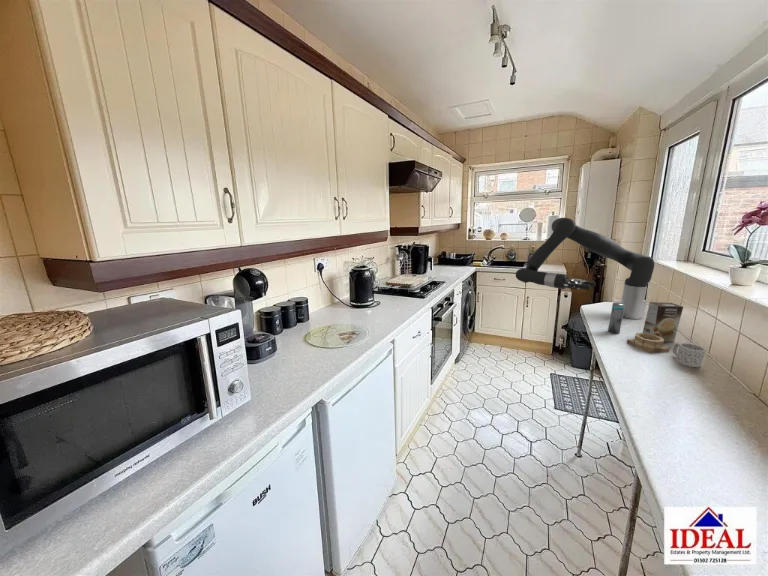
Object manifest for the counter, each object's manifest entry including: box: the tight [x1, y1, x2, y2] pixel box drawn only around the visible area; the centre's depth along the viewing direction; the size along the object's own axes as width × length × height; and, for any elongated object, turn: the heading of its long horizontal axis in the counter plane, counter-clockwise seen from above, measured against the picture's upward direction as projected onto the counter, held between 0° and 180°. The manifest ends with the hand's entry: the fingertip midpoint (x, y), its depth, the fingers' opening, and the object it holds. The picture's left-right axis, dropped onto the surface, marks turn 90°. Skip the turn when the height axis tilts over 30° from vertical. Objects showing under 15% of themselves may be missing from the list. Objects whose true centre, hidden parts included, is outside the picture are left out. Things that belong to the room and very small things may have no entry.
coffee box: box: [642, 301, 684, 343], centre depth 131 cm, size 9×6×16 cm
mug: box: [672, 342, 706, 368], centre depth 112 cm, size 10×7×7 cm, turn 176°
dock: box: [626, 332, 671, 354], centre depth 124 cm, size 9×10×4 cm
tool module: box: [607, 302, 625, 335], centre depth 138 cm, size 4×4×14 cm
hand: (592, 286), depth 143 cm, fingers open, 8 cm apart
